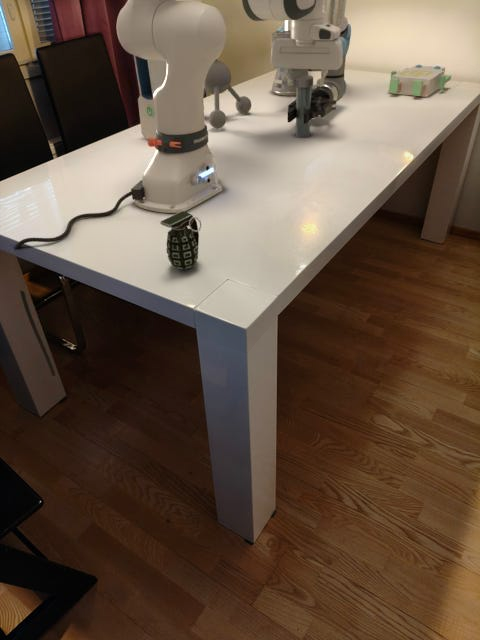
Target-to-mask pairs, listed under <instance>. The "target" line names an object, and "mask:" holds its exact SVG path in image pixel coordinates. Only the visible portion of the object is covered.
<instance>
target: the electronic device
mask: <svg viewBox="0 0 480 640" xmlns="http://www.w3.org/2000/svg"><path fill="white" fill-rule="evenodd" d="M133 60H134V61H133V62H134V65H135V72H136V79H137V86H138V90H139V97H138V98H137V103H138V113H139V123H140V129H141V130H140V131H141V135H142V136H143V138H144V139H146V140H148V139H149V138H150V137H152V138H156V130H157V129H158V128H157V121H156V114H155V108H154V101H153V95H154V92H155V90H156V89H157V87H158V86H159V85H160V84H162V83H163V82H164V81H165V78H166V73H167V64H166V61H156V60H146V59H143V58H140V57H137V56H135V55H133Z"/></svg>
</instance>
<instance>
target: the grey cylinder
mask: <svg viewBox="0 0 480 640" xmlns="http://www.w3.org/2000/svg"><path fill="white" fill-rule="evenodd" d="M311 92H312V86H311V87H306V88H300V87H297V96H296V97H295V100H296V118H295V136H296V137H298V138H307V137H310V136H311V134H310V133H311V120H310V121H309V122H308V123H306V124H304V113H306V112H307V111H308V110H309V109H311Z"/></svg>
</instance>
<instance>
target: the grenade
mask: <svg viewBox="0 0 480 640" xmlns="http://www.w3.org/2000/svg"><path fill="white" fill-rule="evenodd" d="M198 222H199V226H198ZM159 224H160V225H162V226H164V227H166V228H169V230H168V231H167V236H166V254H167V259H168V261H169V263H170V265H171V266H172V267H174V268H176V269H178V270H181V271H186V270H189V269H192V267H194V266H195V265H196V264H197V262H198V261H197V260H198V259H199V243H200V241H199V240H200V233H199V232H200V231H201V228H202V221H201V220H200V219H199V218H198V217H197V216H194V215H193V214H192V213H189V212H187V211H185V212H184V211H181V212H179V213H174V214H172V215H170V216H169V217H166V218H165V219H162V220H160V222H159ZM198 227H199V228H198Z"/></svg>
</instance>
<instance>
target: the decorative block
mask: <svg viewBox="0 0 480 640" xmlns="http://www.w3.org/2000/svg"><path fill="white" fill-rule="evenodd" d="M445 72H446V67H445V66H440V65H435V66H433V65H422V64H415V65H414V66H412V67H406V68H404V69H402V70H399V71H396V70H392V71H391V72H390V80H389V86H388V87H389V89H388V94H395V95H404V96H413V97H424V98H428V97H430V96H432V95H433V94H434V93H435V92H436V91H438V90H444V88H445V84H447V83H448V82H450V81H451V80H452V75H451V74H445Z"/></svg>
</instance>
